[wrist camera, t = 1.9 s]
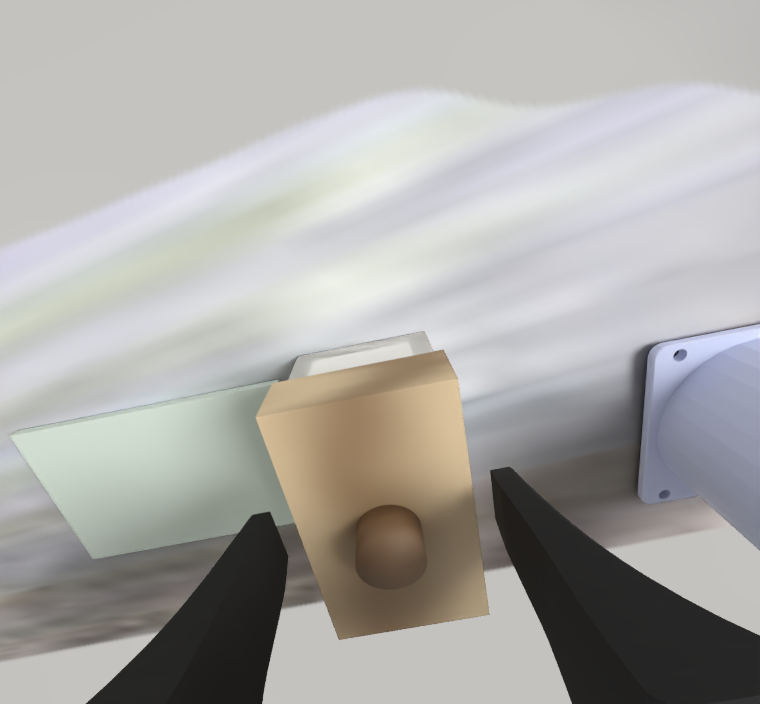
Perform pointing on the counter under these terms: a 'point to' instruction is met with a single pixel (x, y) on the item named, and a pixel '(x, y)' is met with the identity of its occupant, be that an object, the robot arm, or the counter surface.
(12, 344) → the counter surface
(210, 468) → the mat
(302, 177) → the counter surface
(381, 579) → the lid
